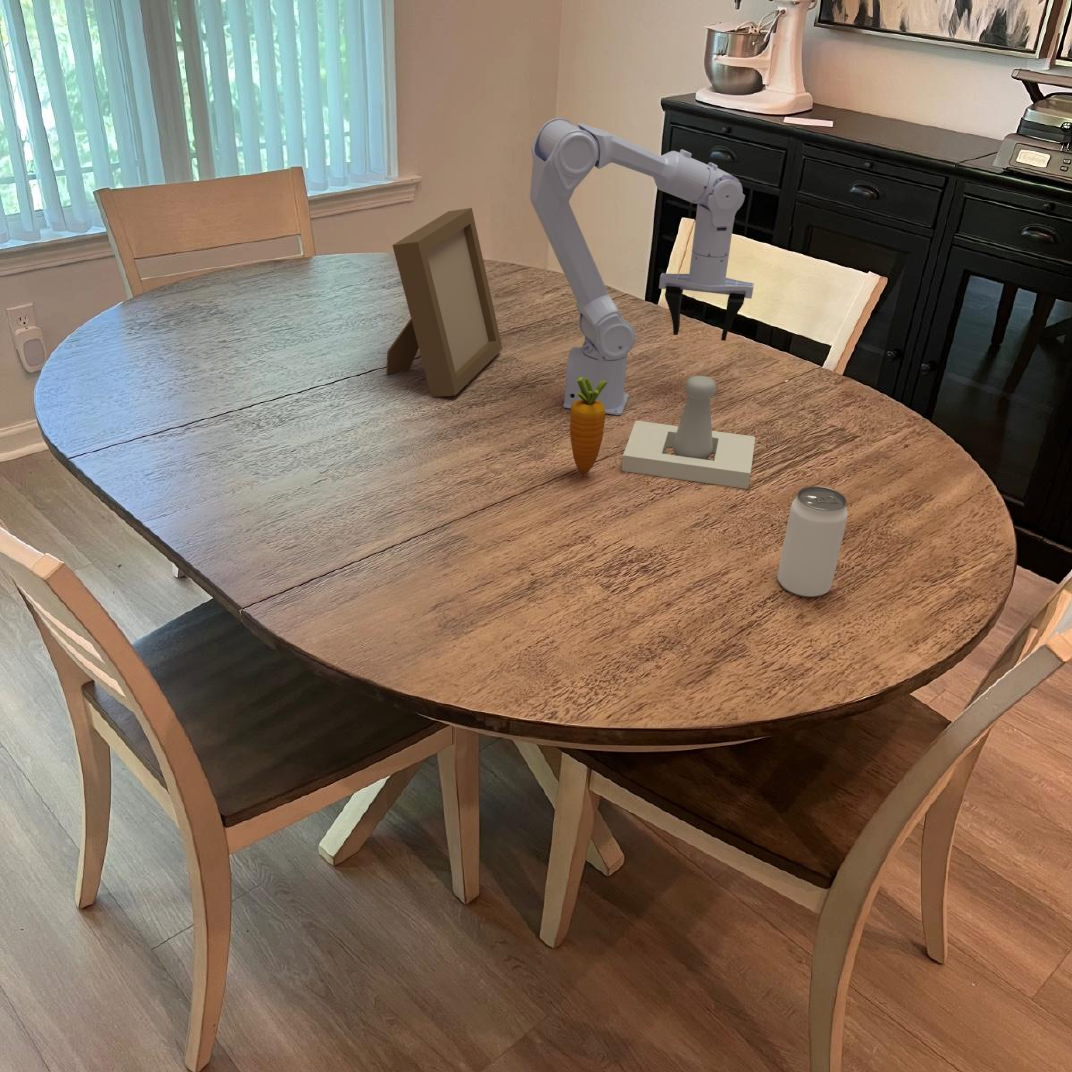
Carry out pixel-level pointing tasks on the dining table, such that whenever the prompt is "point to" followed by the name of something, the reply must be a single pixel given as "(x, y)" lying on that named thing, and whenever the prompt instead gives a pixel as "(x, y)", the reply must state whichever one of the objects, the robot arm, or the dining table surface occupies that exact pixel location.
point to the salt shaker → (696, 420)
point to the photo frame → (445, 304)
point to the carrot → (587, 425)
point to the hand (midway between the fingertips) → (699, 335)
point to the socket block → (724, 470)
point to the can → (812, 541)
